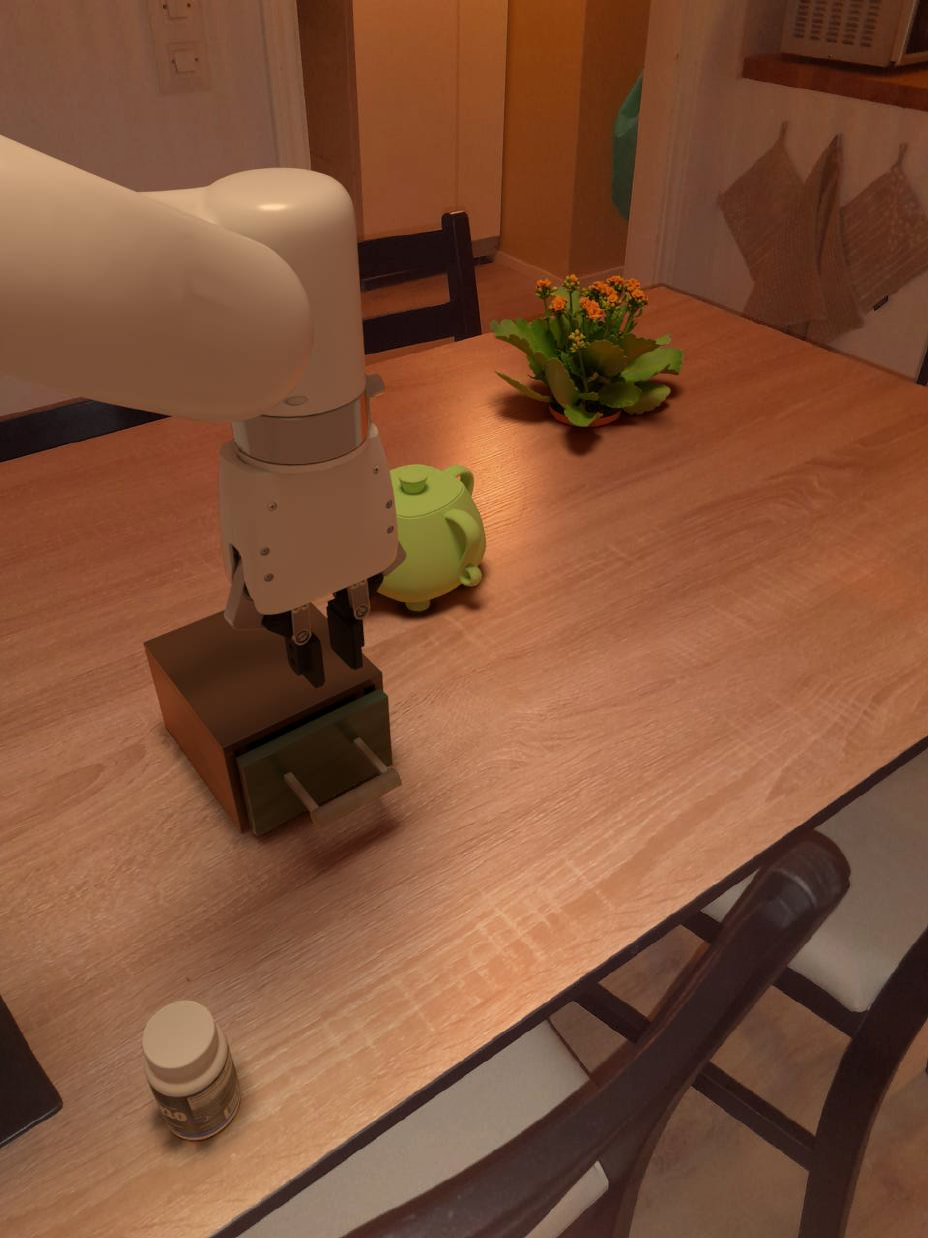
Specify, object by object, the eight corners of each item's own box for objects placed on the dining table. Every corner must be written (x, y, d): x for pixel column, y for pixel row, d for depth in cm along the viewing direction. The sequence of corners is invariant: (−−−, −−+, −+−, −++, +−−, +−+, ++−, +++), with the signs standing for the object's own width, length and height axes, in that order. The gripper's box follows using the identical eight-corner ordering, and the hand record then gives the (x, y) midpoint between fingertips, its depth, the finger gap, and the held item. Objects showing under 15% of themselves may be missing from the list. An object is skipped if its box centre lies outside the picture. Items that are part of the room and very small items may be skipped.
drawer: (432, 808, 76) (431, 739, 71) (293, 888, 70) (281, 818, 65) (311, 676, 88) (302, 609, 83) (183, 734, 82) (166, 666, 77)
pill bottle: (148, 1101, 59) (117, 1031, 54) (214, 1049, 62) (191, 977, 56) (190, 1160, 57) (162, 1093, 51) (257, 1103, 59) (237, 1033, 54)
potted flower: (651, 472, 118) (671, 334, 107) (467, 442, 124) (468, 309, 113) (680, 386, 137) (699, 262, 126) (519, 364, 143) (524, 243, 132)
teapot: (482, 634, 94) (485, 525, 86) (337, 630, 95) (327, 521, 87) (485, 540, 107) (488, 438, 99) (356, 537, 107) (349, 434, 99)
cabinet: (388, 757, 81) (382, 672, 75) (241, 834, 75) (222, 748, 69) (302, 664, 91) (291, 582, 85) (165, 726, 84) (142, 642, 78)
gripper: (384, 358, 59) (396, 596, 71) (134, 432, 52) (193, 684, 63) (457, 403, 55) (457, 650, 66) (193, 491, 47) (245, 752, 59)
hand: (328, 665), depth 65 cm, fingers closed
